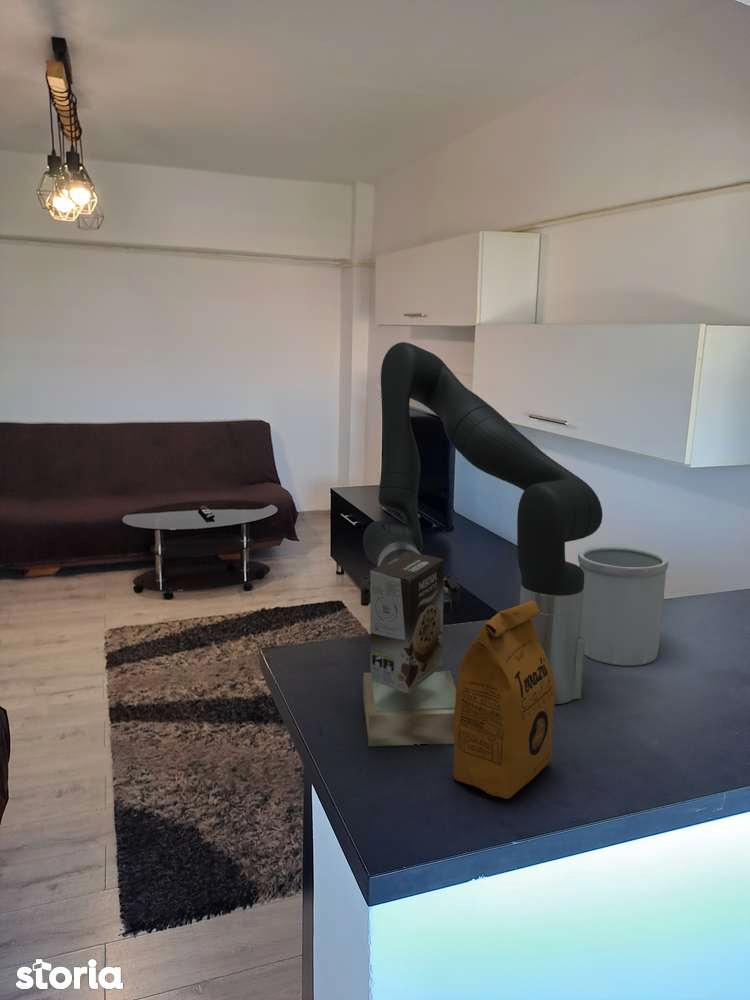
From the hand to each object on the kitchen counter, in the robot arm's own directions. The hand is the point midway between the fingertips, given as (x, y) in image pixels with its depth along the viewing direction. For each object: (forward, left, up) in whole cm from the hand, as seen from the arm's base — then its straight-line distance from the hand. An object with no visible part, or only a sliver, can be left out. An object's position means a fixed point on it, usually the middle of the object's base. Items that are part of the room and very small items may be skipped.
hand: (414, 608), depth 102 cm
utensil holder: (-39, -25, -18) cm, 50 cm away
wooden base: (0, -2, -18) cm, 18 cm away
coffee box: (+1, +1, -9) cm, 9 cm away
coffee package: (-10, +12, -18) cm, 24 cm away
